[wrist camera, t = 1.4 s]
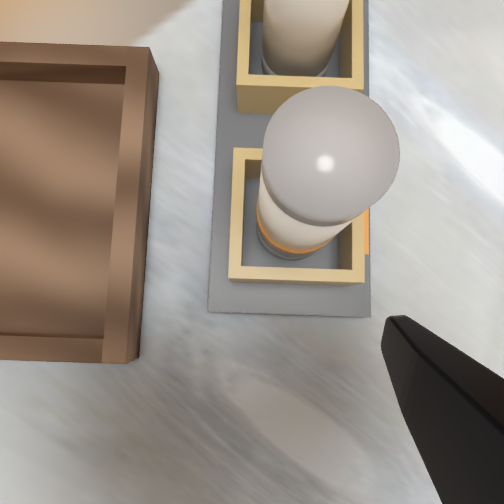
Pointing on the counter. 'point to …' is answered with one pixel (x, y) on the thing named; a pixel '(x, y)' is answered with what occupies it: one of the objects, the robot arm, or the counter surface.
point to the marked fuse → (322, 168)
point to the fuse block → (249, 170)
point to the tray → (74, 199)
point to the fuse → (300, 36)
